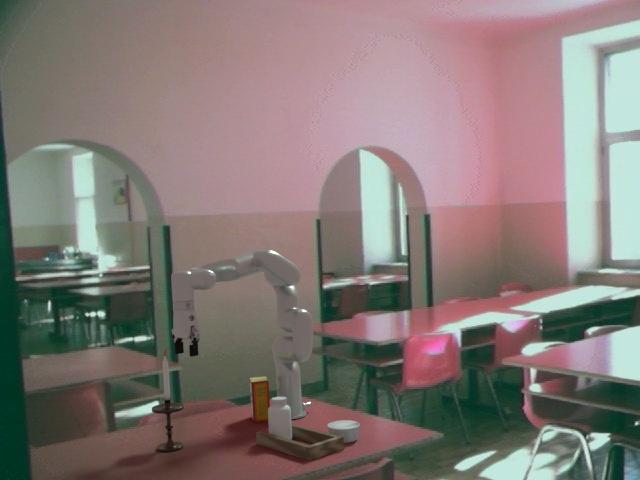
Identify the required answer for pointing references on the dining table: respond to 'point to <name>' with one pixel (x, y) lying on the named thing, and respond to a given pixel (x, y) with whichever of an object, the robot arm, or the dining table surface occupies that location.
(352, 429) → the ramekin
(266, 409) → the baking soda box
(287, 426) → the pill bottle
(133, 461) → the dining table surface
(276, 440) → the u rest
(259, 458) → the dining table surface
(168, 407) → the candlestick
